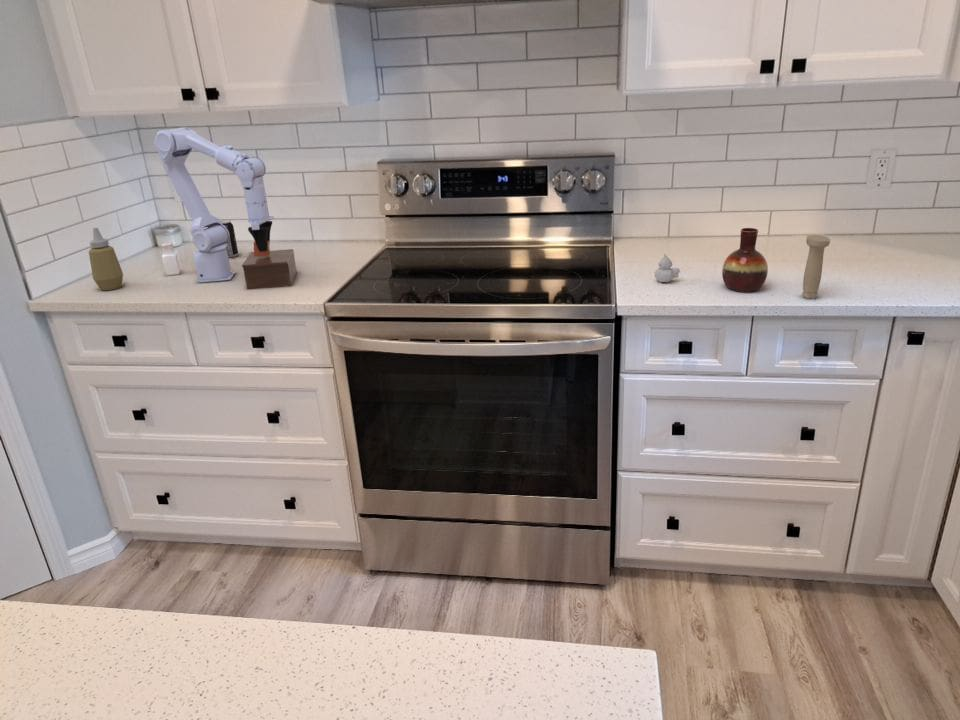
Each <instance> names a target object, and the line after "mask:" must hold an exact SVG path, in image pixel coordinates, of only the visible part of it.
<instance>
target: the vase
mask: <svg viewBox="0 0 960 720" xmlns="http://www.w3.org/2000/svg"><path fill="white" fill-rule="evenodd" d="M758 233H759V229H757V228H754V227H744V228H741V229H740V241H739V248H738V249H736V250H734V251H732V252H731V253H730V254H728V255H727V257H726V258H725V259H724V262H723V264H722V271H721V275H722V280H723V284H724V285H725V287H726V288H727V289H729V290H730V291H734V292H739V293H752V292H756V291H758V290H759V289H761V288H762V287H763V286H764V284H765V282H766V279H767V277H768V272H769V268H768V262H767V260H766V258H765V256H764V255H763V254H762V253H761V252H760V251H758V250H757V249H756V244H757V240H758Z"/></svg>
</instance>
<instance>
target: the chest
mask: <svg viewBox="0 0 960 720" xmlns="http://www.w3.org/2000/svg"><path fill="white" fill-rule="evenodd" d="M242 269H243V274H244V280H245V285H246V290H254V289H255V290H256V289H257V290H258V289H267V288H269V289H270V288H280V287H281V288H282V287H292V285H293V283H294V281H295V278H296V276H297V274H298V273H297V272H298V271H297V265H296V258H295V252H294V250H293V253H292V255H291V257H290V259H289V262H288V264H278V265H265V266H251V267H242Z"/></svg>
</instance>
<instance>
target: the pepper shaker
mask: <svg viewBox="0 0 960 720" xmlns="http://www.w3.org/2000/svg"><path fill="white" fill-rule="evenodd" d="M160 246H161V251H162V253H163V254H162V255H161V259H162V263H163V267H164V272H165V275H166V276H173V275H174V276H175V275H180V273H181V268H180V263H179V258H178V253H177V252H175V251H174V244H173V243H172V242H165V243H162V244H160Z"/></svg>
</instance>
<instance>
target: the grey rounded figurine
mask: <svg viewBox="0 0 960 720" xmlns="http://www.w3.org/2000/svg"><path fill="white" fill-rule="evenodd" d="M657 265H658V268H657V269H656V270H655V271H654V278H655V279H656V280H657V281H658V282H660V283H669V282H670V281H672V280H673V279H677V278H679V273H680V271H681V269H680V268H678V267H673V262H672V260H671V258H669V257H668V256H667V254H666V253H664V256H663V257H662V258H661V259H660V261H659V262H658V263H657Z"/></svg>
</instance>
